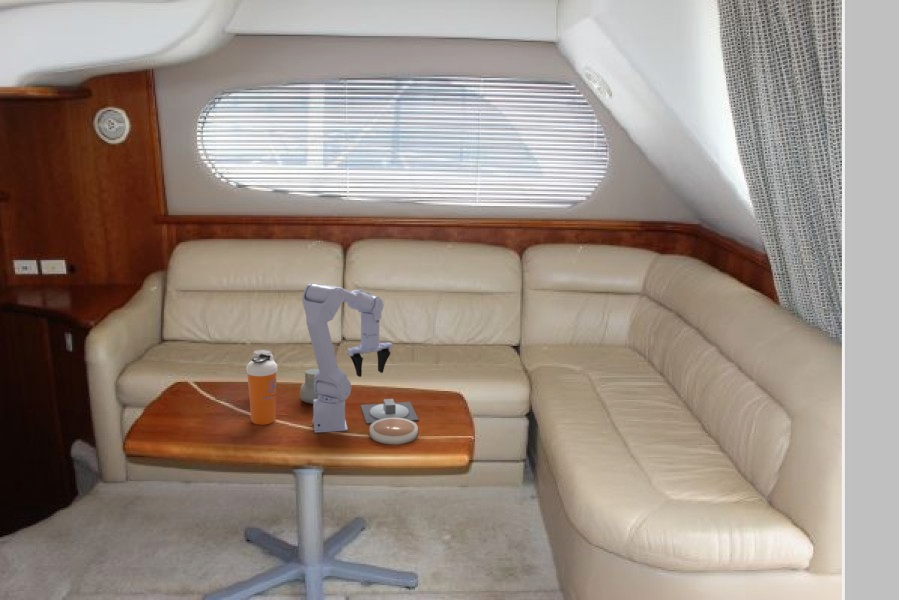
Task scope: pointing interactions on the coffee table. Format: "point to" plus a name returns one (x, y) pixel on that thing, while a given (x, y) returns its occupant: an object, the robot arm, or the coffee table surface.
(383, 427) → the dish
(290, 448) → the coffee table surface
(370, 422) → the mat
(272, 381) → the shaker bottle
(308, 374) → the air freshener
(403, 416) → the lid
